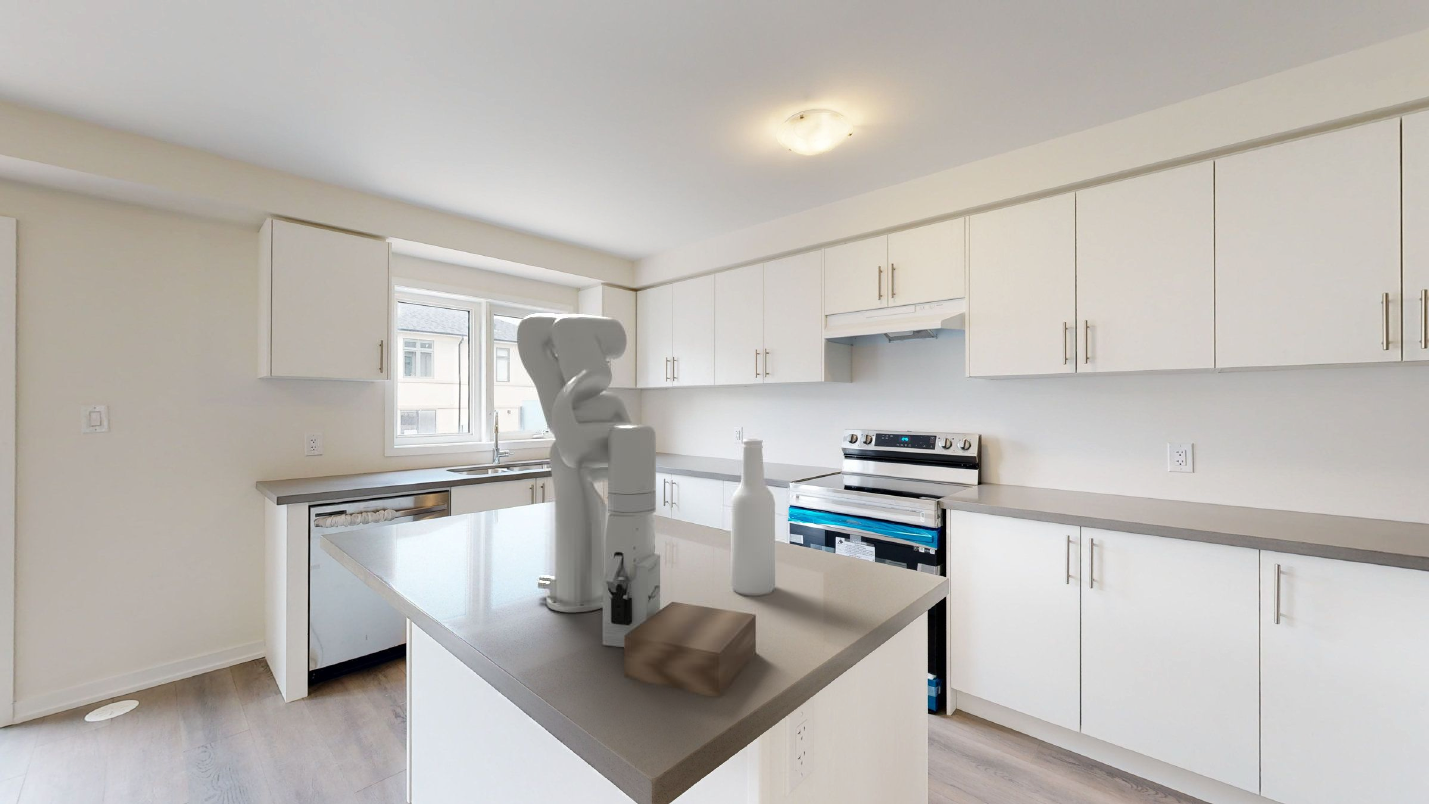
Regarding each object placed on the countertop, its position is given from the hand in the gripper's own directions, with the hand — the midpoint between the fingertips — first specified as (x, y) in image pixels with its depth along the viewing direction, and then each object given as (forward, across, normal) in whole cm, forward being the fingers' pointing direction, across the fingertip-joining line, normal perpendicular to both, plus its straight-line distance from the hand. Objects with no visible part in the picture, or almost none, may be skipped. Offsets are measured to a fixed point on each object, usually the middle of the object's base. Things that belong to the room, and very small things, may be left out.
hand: (632, 613), depth 88 cm
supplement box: (+4, 0, 0) cm, 4 cm away
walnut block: (+4, +6, +12) cm, 14 cm away
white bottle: (+4, -28, +14) cm, 32 cm away
